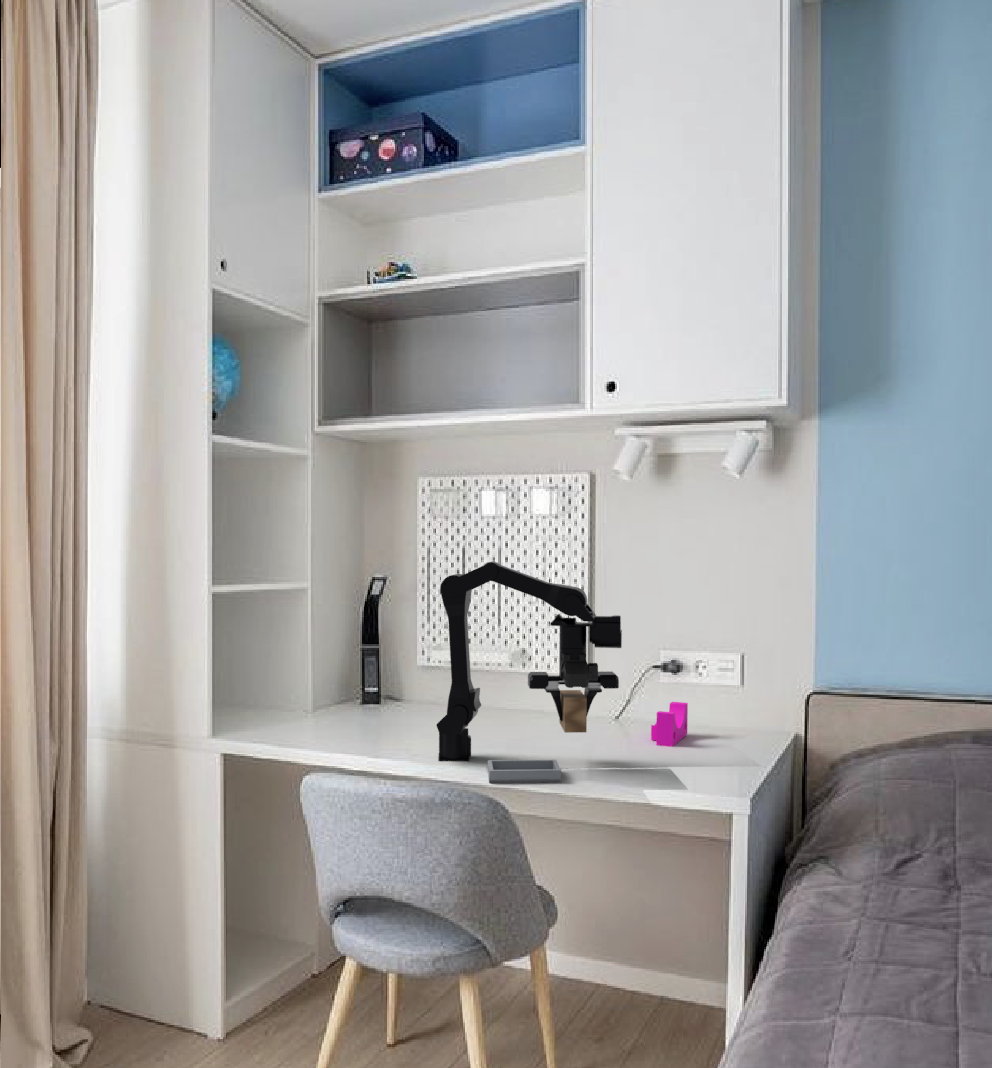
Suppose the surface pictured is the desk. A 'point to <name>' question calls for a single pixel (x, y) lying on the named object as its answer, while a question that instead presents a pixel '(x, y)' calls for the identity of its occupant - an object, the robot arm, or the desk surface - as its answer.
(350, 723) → the desk surface
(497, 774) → the slot tray
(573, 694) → the walnut block
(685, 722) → the toy block
